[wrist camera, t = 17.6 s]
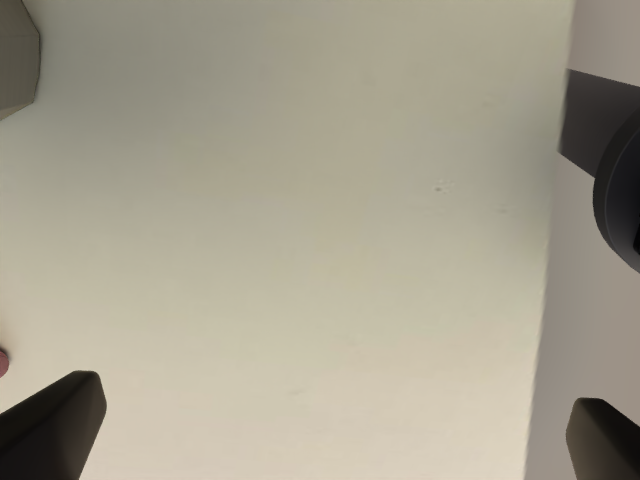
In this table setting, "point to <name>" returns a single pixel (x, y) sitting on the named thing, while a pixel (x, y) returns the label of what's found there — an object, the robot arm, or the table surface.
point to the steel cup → (17, 57)
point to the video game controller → (3, 364)
